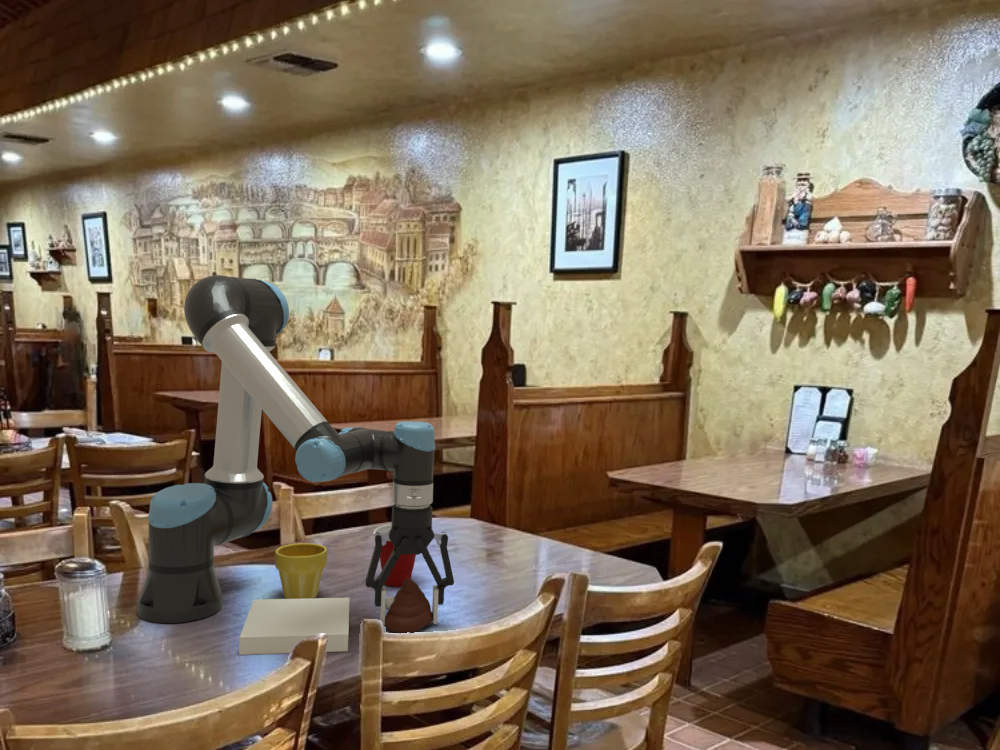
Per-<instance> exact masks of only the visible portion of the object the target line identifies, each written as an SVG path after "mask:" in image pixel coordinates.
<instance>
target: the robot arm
mask: <svg viewBox="0 0 1000 750" xmlns="http://www.w3.org/2000/svg"><path fill="white" fill-rule="evenodd" d="M289 307H290V306H289V302H288V301H287V298H286V296H285V294H284V293H283V292H282V291H281V289H280V288H279V287H278V286H277V285H275V284H273V283H272V282H269V281H265V280H262V279H257V278H248V277H247V278H245V277H236V276H228V275H224V274H223V275H221V274H220V275H219V274H215V275H209V276H206V277H203V278H201V279H200V280H198V281H196V282H195V283H194V284H192V286H191V287H190V289H189V290H188V292H187V294H186V296H185V299H184V306H183V310H184V311H183V312H184V318H185V321H186V323H187V326H188V328H189V330H190V332H191V334H192V335H193V337H194V338H195V340H196V341H197V342H198V343H199V345H201V346H202V348H203V349H204V350H205V351H206V352H209V353H214V354H215V355H216V356H217V357H218V358H219V360H220V361H221V366H220V367H221V368H220V369H221V370H220V380H219V392H218V393H219V395H218V404H217V405H218V406H217V415H216V416H217V417H216V418H217V420H216V431H215V443H214V453H213V454H214V456H213V465H212V467H211V468H209V469H208V470H207V471H206V472H205V473H204V482H203V483H201V482H193V483H192V482H191V483H190V482H189V483H184V484H175V485H171V486H168V487H165V488H163V489H160V490H159V491H158V492H156V493H154V495H153V496H152V498H151V499H150V502H149V512H148V516H147V520H148V568H147V569H148V570H147V574H146V578H145V581H144V583H143V586H142V589H141V592H140V594H139V597H138V600H137V616H138V617H139V618H141V619H142V620H145V621H146V622H147V621H148V622H152V623H159V624H160V623H161V624H177V623H187V622H193V621H194V622H195V621H197V620H201V619H205V618H207V617H210V616H212V615H214V614H216V613H218V612H219V611H220V610H221V609H222V607H223V592H222V588H221V587H220V583H219V580H218V577H217V574H216V571H215V567H214V564H215V563H214V559H215V558H214V556H215V547H216V546H220V545H222V544H225V543H228V542H232V541H235V540H236V539H237V540H238V539H241V538H245V537H247V536H250V535H251V534H252V533H254V532H257V531H259V530H261V528H263V527H264V525H266V523H267V522H268V521H269V519H270V516H271V513H272V510H273V495H272V493H271V492H270V491H269V486H267V484H266V483H265V482H264V474H263V473H262V472H261V471H260V469H258V457H259V446H260V445H259V444H260V433H261V432H260V431H261V424H262V422H261V421H262V411H263V412H264V414H265V415H266V416H267V417H268V418H269V420H270V421H271V422H272V423H273V424H274V425H275V427H276V428H277V429H278V430H279V432H280V433H281V434H282V435H283V436H284V438H285V439H286V440H287V441H288V442H289V444H290V445H291V447H293V449H294V450H295V451H296V453H295V457H294V460H295V464H296V468H297V471H298V474H299V475H301V477H302V478H303V479H304V480H306V481H308V482H311V483H321V482H331V481H333V480H336V479H338V478H340V477H344V476H346V475H350V474H355V473H358V472H361V471H366V470H378V471H379V470H381V471H389V472H392V478H393V479H392V500H391V501H392V503H394V505H393V506H392V508H391V524H392V527H391V530H390V531H389V533H383V534H380V533H379V532H377V533H375V536H374V543H375V545H374V549H373V551H372V555H371V560H370V562H369V566H368V570H367V574H366V577H365V586H366V587H367V588H371V589H373V590H374V605H375V608H376V607H379V608H380V614H379V615H380V617H379V621H380V620H381V621H382V622H383V625H382V626H385V616H386V607H385V600H386V598H387V595H386V593H387V590H386V585H385V582H386V580H387V578H388V576H389V575H390V573H391V571H392V569H393V567H394V566H395V564H396V562H397V560H398V559H399V558H400V556H401V554H403V555H408V554H415V555H416V556H417V555H418V556H419V555H420V554H421V555H422V557H423V560H424V561H425V563H426V565H427V567H428V569H429V571H430V573H431V575H432V577H433V580H434V581H435V583H436V584H434V585H432V606H431V608H432V609H431V611H432V614H433V621H432V624H433V625H434V624H435V625H436V624H437V625H438V618H439V617H438V614H439V613H438V612H439V606H442V605H444V602H445V600H444V599H445V590H446V588H447V587H448V586H451V587H452V586H454V583H455V579H454V575H453V569H452V564H451V561H450V560H451V559H450V555H449V549H448V541H449V536H448V534H447V532H446V531H441V532H436V531H434V530H433V527H432V526H433V506H432V505H431V504H432V503H433V501H434V498H433V496H434V468H435V467H434V466H435V450H436V445H435V443H436V442H435V427H434V426H433V425H432V424H431V423H429V422H425V421H411V420H409V421H408V420H407V421H399V422H397V423H396V424H395V425H394V429H393V430H381V429H373V428H365V427H362V426H360V427H359V426H358V427H343V428H342V429H340V432H338V431H337V430H336V429H335V428H334V427H333V425H331V424H330V422H329V421H328V420H327V419H326V418H325V417H324V416H323V414H322V413H321V412H320V411H319V409H318V408H317V407H316V405H314V403H312V402H311V399H309V397H307V395H306V394H305V393H304V392H303V390H302V389H301V388H300V387H299V386H298V385H297V383H296V382H295V381H294V380H293V379H292V377H291V376H290V374H289V373H288V372H287V371H286V370H285V369H284V368H283V367H282V365H281V364H280V363H279V362H278V361H277V360H276V358H275V357H274V356H273V355H272V353H270V352H272V350H274V349H276V348H275V347H276V337H277V336H278V335H279V334H280V333H282V331H283V329H285V328H286V327H287V325H288V323H289V319H290V308H289ZM388 539H390V540H391V542H392V543H393V545H394V546H395V547H394V549H393V550H392V553H391V555H390V557H389V559H388V560H387V562H386V564H385V566H384V568H383V569H381V571H380V573H379V575H378V577H377V579H375V577H376V572H377V570H378V569H377V568H378V564H379V563H380V555H381V551H382V546H384V545H385V544H386V541H387V540H388ZM433 540H435V542H436V544H437V545H438V546H439V549H440V550H439V551H440V555H441V559H442V564H443V569H444V573H445V577H443V578H442V576H441V574H440V571H439V570H438V566H436V563H435V561H434V560H433V557H432V554H431V553H430V551H429V549H428V546H429V545H431V542H433Z"/></svg>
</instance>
